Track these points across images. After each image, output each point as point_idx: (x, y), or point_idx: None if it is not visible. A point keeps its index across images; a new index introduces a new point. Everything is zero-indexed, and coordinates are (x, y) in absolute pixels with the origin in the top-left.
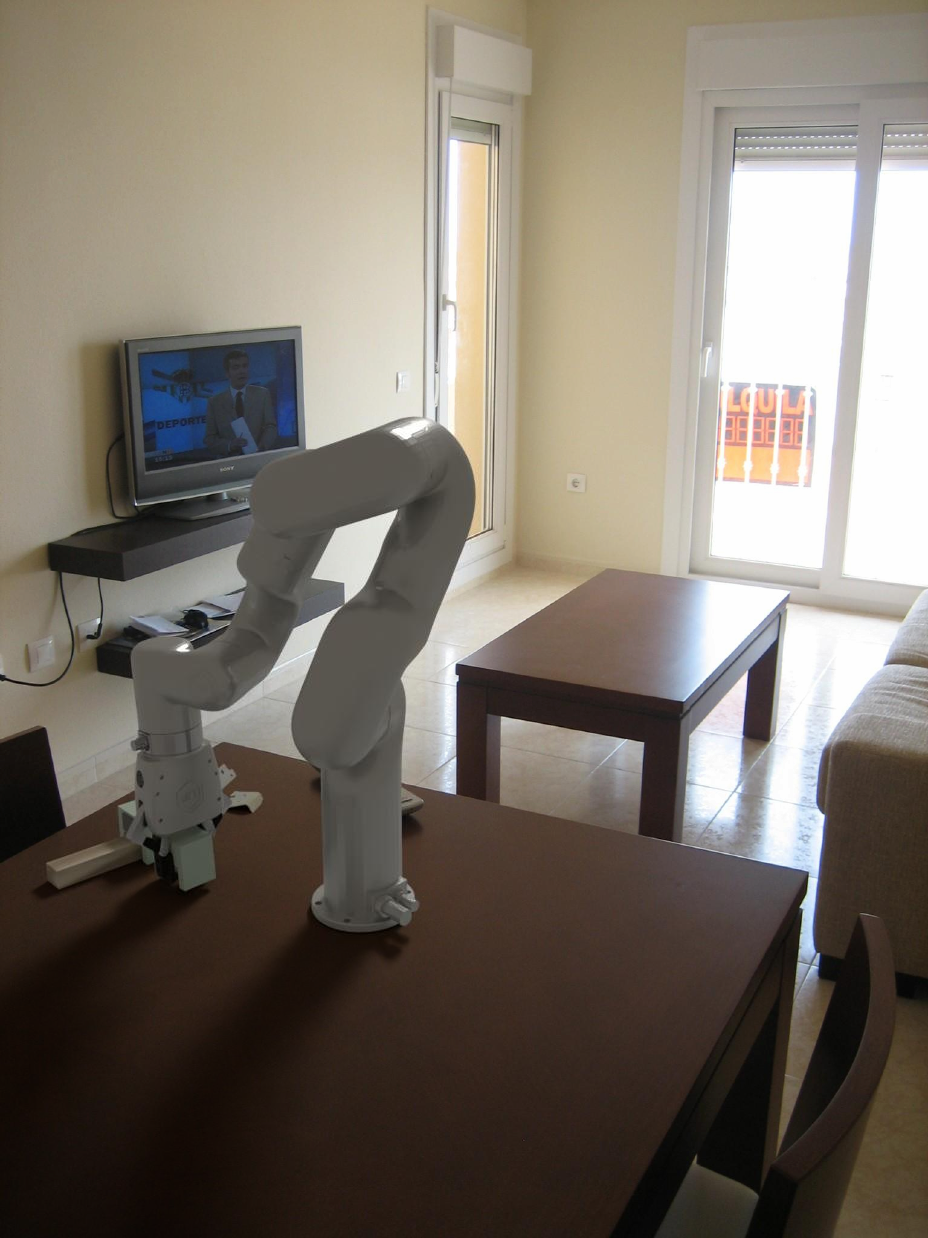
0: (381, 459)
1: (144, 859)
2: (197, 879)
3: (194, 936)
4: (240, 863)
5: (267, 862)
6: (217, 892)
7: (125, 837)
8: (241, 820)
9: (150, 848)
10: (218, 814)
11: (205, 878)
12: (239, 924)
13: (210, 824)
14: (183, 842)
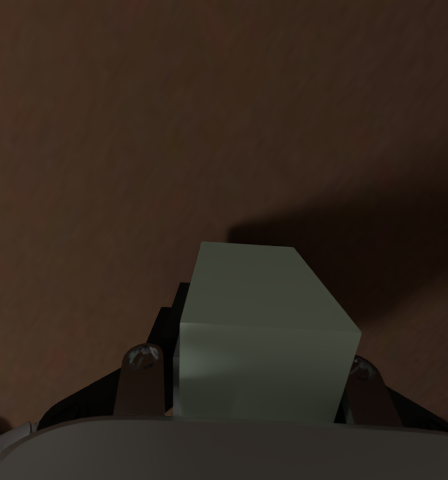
0: None
1: None
2: (256, 251)
3: (399, 71)
4: (104, 277)
5: (50, 237)
6: (218, 211)
7: None
8: (13, 406)
9: (419, 409)
10: (63, 426)
11: (232, 247)
12: (283, 22)
13: (131, 394)
14: (319, 355)
